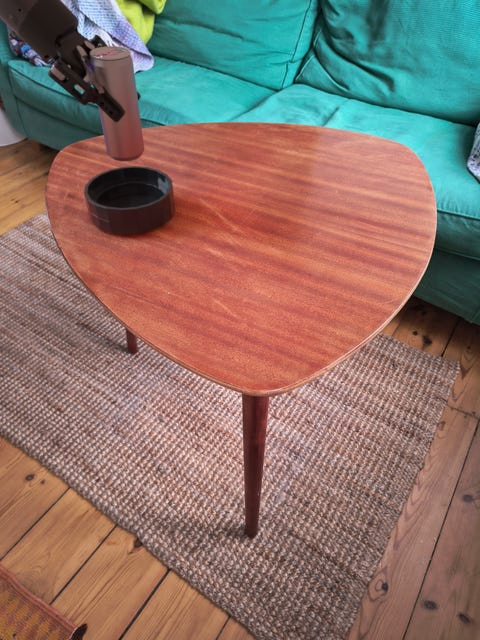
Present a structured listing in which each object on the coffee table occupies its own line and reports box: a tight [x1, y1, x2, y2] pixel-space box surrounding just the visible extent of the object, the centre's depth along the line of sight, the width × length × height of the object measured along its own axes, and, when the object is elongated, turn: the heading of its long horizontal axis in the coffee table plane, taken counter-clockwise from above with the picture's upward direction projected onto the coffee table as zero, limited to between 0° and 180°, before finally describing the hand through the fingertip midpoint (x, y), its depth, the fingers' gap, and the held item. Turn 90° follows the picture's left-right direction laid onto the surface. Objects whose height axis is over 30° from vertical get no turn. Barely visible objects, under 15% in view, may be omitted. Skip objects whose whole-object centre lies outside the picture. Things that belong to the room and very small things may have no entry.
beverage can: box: [90, 45, 145, 162], centre depth 71 cm, size 6×6×15 cm
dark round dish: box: [83, 165, 176, 236], centre depth 84 cm, size 15×15×6 cm
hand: (129, 109), depth 71 cm, fingers closed on beverage can, 6 cm apart
